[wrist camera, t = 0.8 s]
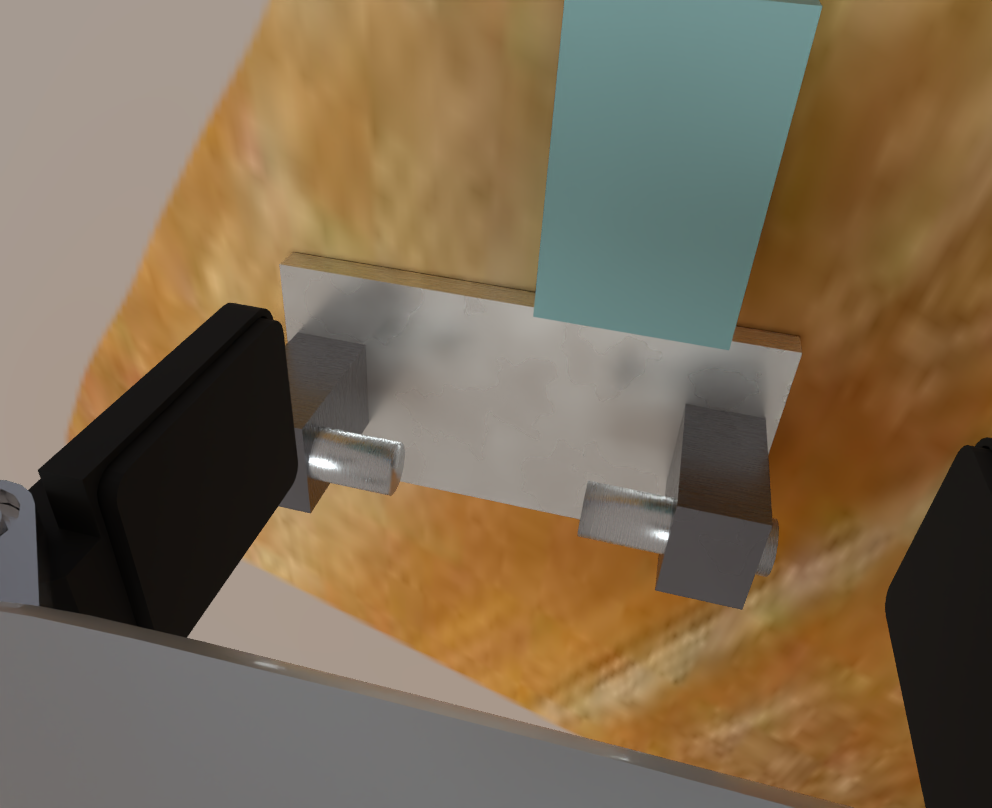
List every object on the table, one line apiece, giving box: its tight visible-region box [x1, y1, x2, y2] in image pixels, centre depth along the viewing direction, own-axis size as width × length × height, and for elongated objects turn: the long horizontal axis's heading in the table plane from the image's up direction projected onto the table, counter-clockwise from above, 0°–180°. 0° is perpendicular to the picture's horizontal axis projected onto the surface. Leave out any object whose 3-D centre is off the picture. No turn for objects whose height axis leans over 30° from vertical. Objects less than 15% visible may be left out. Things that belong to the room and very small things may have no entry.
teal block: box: [533, 0, 822, 350], centre depth 23 cm, size 6×9×6 cm, turn 176°
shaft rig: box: [279, 252, 802, 610], centre depth 30 cm, size 10×20×7 cm, turn 86°
